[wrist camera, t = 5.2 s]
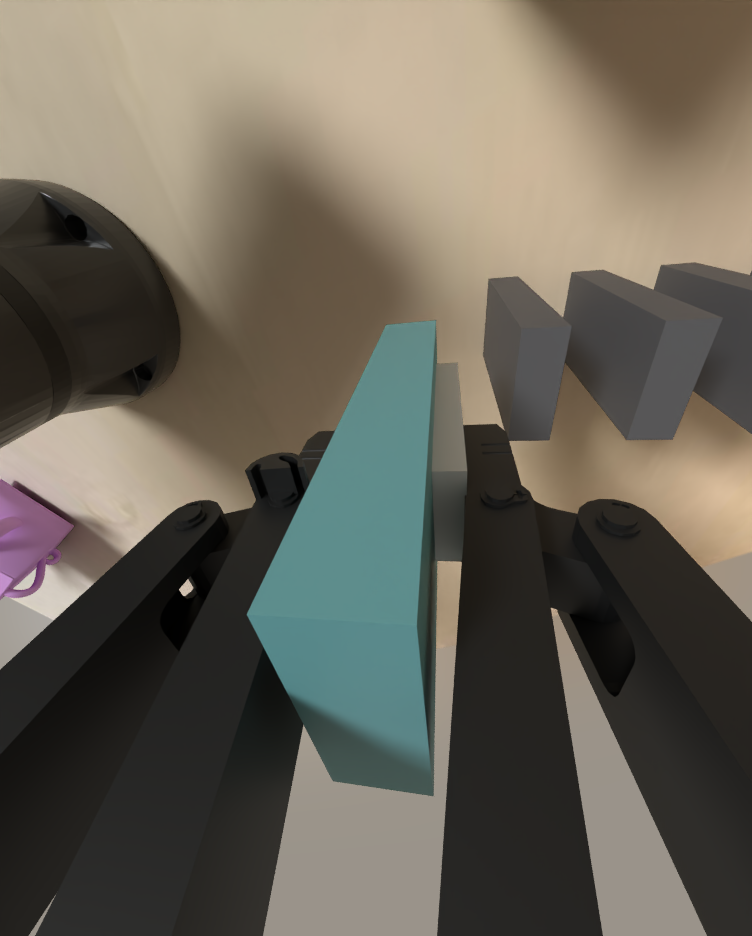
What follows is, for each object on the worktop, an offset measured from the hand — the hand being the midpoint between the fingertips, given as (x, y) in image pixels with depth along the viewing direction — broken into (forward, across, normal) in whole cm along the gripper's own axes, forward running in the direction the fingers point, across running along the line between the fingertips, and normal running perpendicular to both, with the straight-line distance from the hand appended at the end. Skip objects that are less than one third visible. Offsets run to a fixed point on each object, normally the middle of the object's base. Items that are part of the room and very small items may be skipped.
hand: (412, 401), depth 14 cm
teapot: (+15, -50, -19) cm, 55 cm away
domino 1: (+1, 0, 0) cm, 1 cm away
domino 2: (+15, +5, -1) cm, 15 cm away
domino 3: (+15, +10, -1) cm, 18 cm away
